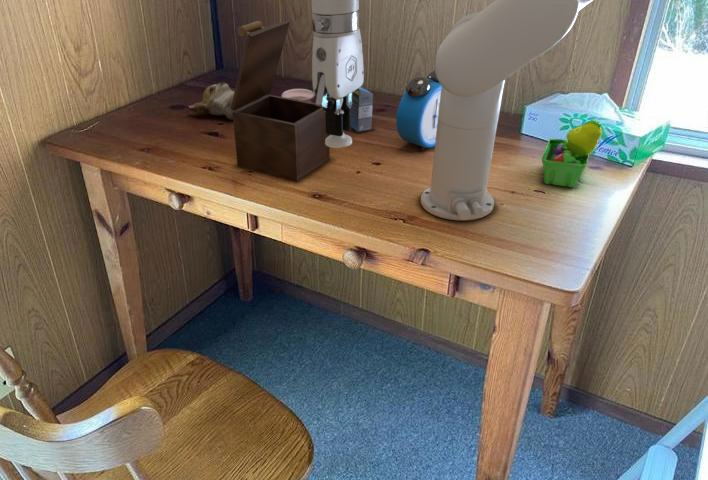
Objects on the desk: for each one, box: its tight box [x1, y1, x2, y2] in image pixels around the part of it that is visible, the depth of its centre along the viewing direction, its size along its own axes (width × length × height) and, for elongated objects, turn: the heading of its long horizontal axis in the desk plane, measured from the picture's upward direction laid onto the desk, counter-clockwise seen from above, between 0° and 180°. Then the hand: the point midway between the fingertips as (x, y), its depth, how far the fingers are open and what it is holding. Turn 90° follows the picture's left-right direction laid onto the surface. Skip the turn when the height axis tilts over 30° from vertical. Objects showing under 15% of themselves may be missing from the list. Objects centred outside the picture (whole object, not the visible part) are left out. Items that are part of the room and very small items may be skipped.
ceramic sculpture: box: [185, 80, 244, 121], centre depth 148 cm, size 11×9×15 cm
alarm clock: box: [395, 69, 442, 152], centre depth 127 cm, size 13×6×15 cm, turn 133°
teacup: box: [281, 88, 316, 102], centre depth 144 cm, size 12×12×6 cm
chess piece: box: [325, 98, 353, 149], centre depth 108 cm, size 5×5×10 cm
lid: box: [231, 19, 291, 111], centre depth 118 cm, size 16×12×5 cm
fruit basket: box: [541, 119, 603, 188], centre depth 113 cm, size 11×9×11 cm
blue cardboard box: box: [350, 86, 374, 133], centre depth 139 cm, size 9×4×12 cm, turn 22°
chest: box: [232, 94, 331, 182], centre depth 123 cm, size 15×12×11 cm
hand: (338, 131), depth 109 cm, fingers closed on chess piece
